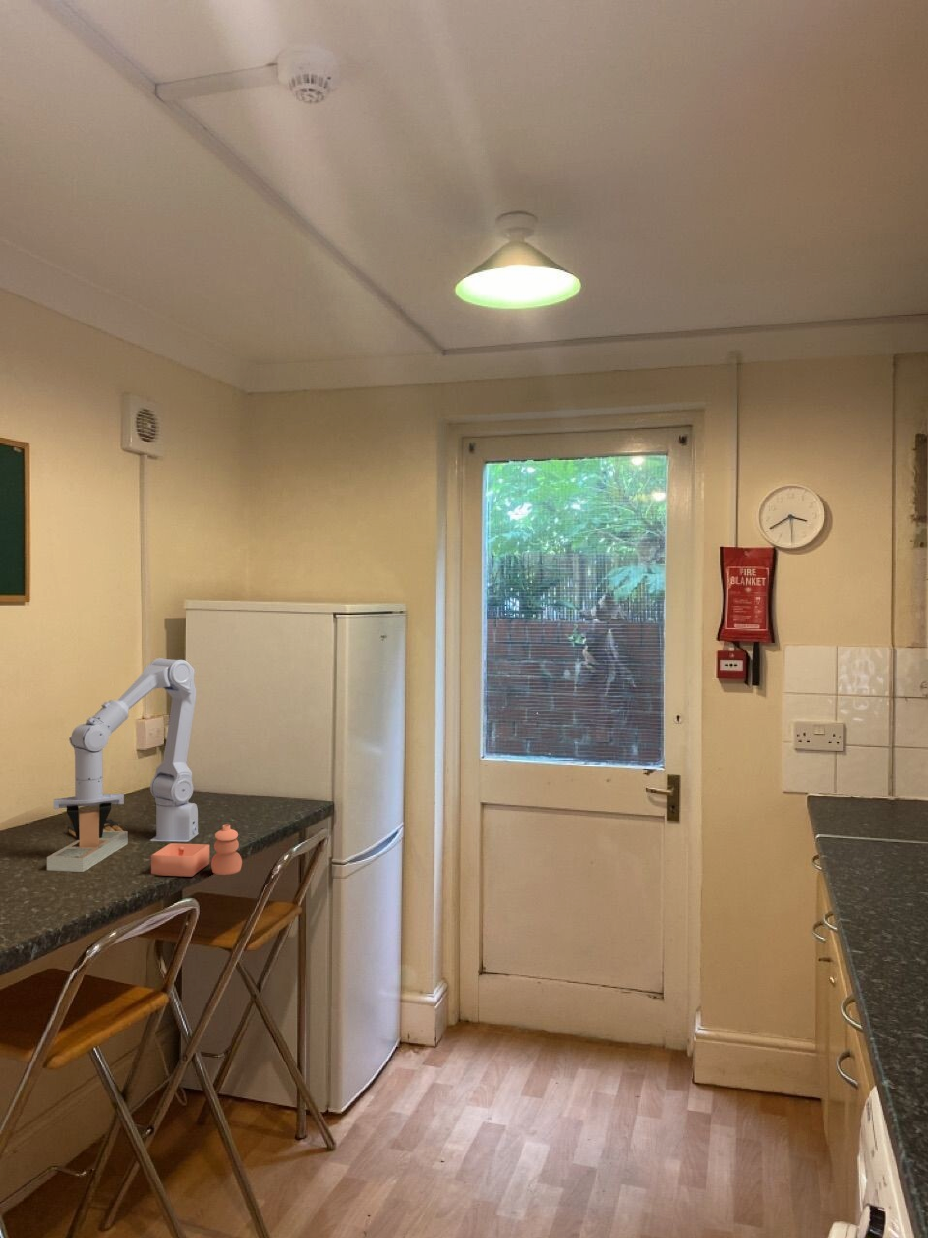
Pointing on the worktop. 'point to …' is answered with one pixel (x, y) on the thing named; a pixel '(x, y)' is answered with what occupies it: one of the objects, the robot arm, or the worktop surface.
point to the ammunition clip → (108, 826)
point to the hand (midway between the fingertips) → (89, 837)
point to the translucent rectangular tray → (86, 853)
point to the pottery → (199, 856)
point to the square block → (89, 828)
